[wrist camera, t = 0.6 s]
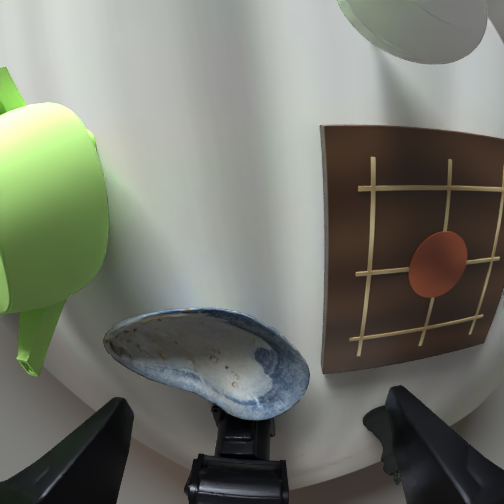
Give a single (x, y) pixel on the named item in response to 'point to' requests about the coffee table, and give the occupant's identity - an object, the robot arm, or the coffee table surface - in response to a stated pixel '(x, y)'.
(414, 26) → the spinning top
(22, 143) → the teapot
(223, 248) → the coffee table surface
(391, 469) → the chess piece
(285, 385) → the seashell
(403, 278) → the board
